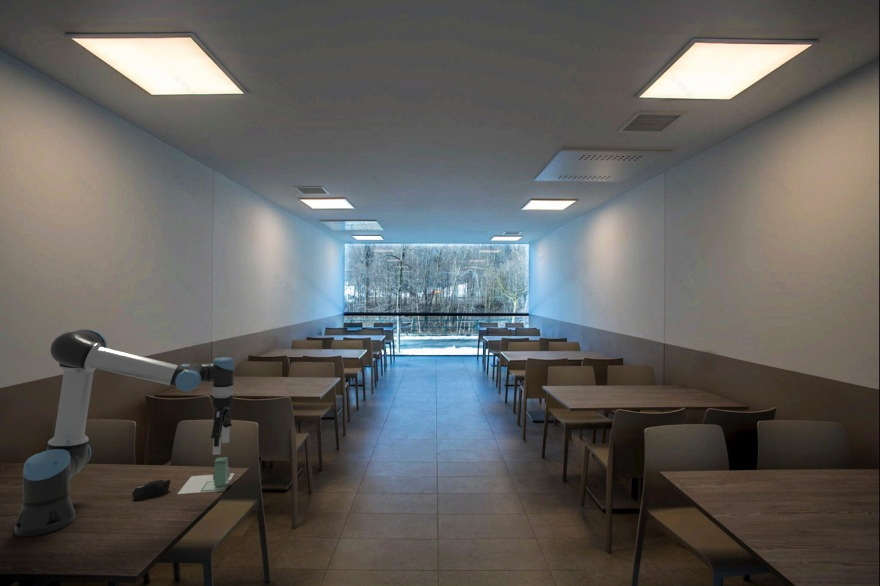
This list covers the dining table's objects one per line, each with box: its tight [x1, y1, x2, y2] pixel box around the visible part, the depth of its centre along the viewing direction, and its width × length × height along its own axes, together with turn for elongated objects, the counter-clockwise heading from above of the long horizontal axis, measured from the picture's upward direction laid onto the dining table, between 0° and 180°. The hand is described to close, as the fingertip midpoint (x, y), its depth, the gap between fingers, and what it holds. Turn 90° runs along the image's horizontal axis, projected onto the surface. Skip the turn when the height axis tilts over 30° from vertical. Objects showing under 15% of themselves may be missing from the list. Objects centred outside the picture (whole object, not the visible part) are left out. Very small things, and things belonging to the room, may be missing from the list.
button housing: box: [212, 466, 231, 480], centre depth 186 cm, size 5×5×3 cm
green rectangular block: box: [213, 456, 229, 487], centre depth 177 cm, size 4×4×11 cm
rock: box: [131, 479, 171, 502], centre depth 168 cm, size 10×9×6 cm
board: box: [177, 472, 235, 495], centre depth 180 cm, size 17×17×1 cm
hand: (221, 448), depth 177 cm, fingers open, 13 cm apart
